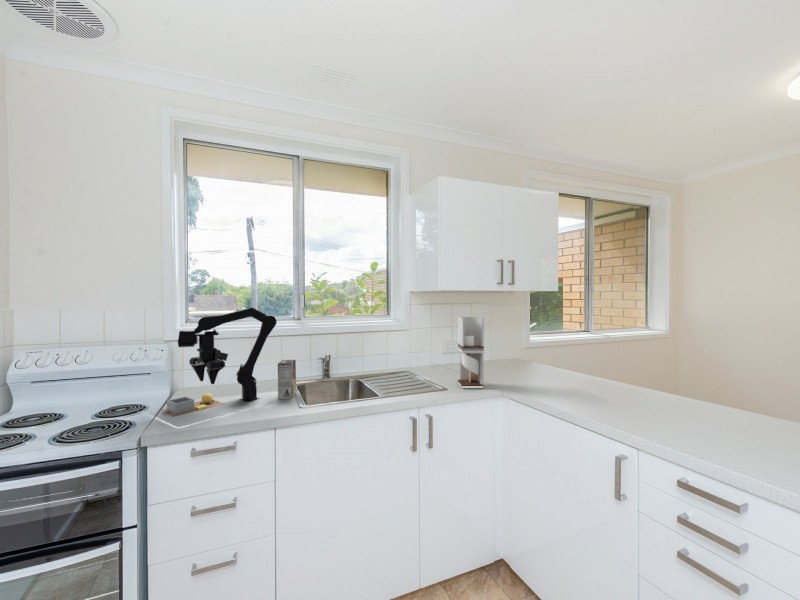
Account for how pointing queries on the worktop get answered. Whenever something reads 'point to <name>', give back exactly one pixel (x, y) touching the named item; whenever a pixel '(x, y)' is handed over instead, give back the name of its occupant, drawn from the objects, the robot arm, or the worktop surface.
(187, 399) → the grey open box
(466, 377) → the display case
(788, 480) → the worktop surface
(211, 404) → the rack board
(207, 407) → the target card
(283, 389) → the coffee box
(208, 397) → the ball
